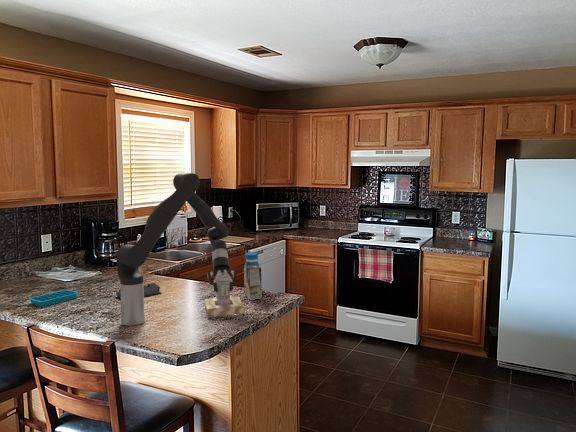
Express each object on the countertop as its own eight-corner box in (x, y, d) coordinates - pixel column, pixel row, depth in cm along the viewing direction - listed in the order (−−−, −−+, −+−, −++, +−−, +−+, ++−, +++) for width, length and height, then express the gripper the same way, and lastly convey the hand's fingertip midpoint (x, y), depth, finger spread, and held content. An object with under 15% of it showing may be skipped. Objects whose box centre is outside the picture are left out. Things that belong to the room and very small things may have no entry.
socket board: (207, 317, 197) (207, 308, 197) (204, 307, 213) (204, 299, 212) (243, 314, 201) (243, 306, 201) (238, 304, 217) (238, 296, 216)
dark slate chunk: (112, 296, 233) (111, 287, 233) (151, 289, 248) (151, 280, 248) (124, 302, 222) (124, 293, 222) (165, 294, 237) (165, 285, 237)
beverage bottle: (257, 292, 239) (257, 255, 237) (242, 291, 241) (241, 254, 239) (261, 288, 248) (261, 252, 246) (246, 287, 249) (246, 251, 247)
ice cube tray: (80, 298, 230) (79, 292, 230) (41, 308, 213) (40, 302, 213) (66, 294, 236) (66, 289, 236) (27, 304, 219) (27, 298, 219)
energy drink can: (230, 303, 210) (230, 272, 208) (229, 307, 204) (229, 275, 202) (217, 303, 210) (217, 272, 208) (216, 307, 204) (215, 275, 202)
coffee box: (262, 299, 225) (261, 268, 224) (249, 300, 223) (249, 269, 221) (256, 294, 234) (256, 264, 232) (245, 296, 232) (244, 265, 230)
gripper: (205, 256, 210) (208, 288, 200) (236, 255, 214) (240, 285, 203) (205, 265, 216) (207, 296, 205) (235, 263, 219) (238, 294, 209)
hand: (223, 291), depth 204 cm, fingers closed on energy drink can, 6 cm apart
